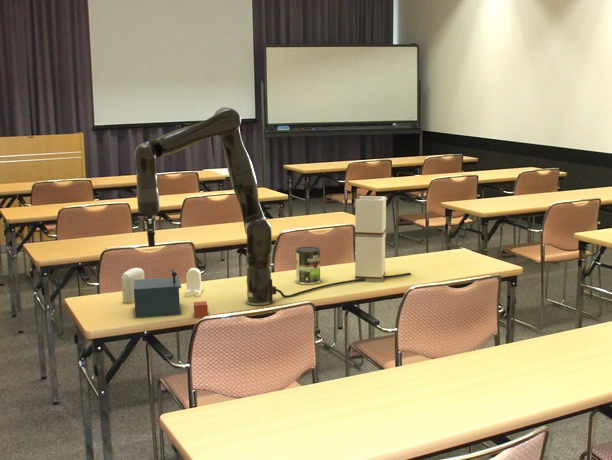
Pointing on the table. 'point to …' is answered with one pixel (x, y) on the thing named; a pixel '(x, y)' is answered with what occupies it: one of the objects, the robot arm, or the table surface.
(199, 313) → the block
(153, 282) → the freezer lid
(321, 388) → the table surface
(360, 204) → the tall white pillar box
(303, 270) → the coffee can
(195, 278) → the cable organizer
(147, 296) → the box
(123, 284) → the photo printer
